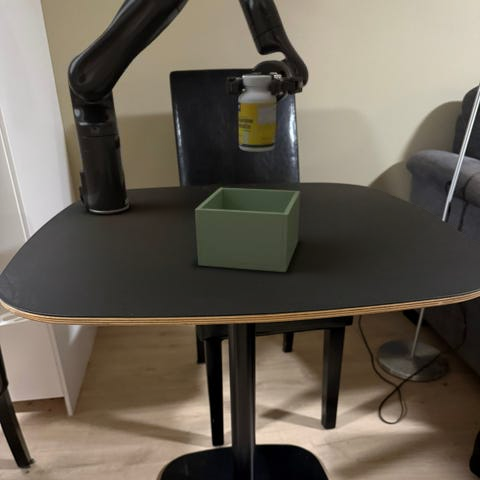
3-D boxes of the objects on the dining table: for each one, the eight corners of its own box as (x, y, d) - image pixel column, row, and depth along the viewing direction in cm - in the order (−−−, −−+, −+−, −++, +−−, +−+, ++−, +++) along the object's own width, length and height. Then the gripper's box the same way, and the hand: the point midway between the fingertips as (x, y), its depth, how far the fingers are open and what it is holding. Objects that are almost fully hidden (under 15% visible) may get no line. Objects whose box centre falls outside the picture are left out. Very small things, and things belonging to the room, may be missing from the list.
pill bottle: (237, 146, 88) (236, 75, 82) (272, 145, 88) (273, 74, 83) (240, 153, 82) (239, 77, 77) (278, 151, 83) (279, 76, 77)
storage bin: (198, 265, 84) (194, 209, 80) (221, 236, 98) (219, 187, 93) (285, 272, 81) (288, 214, 76) (297, 241, 94) (300, 190, 90)
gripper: (235, 60, 92) (211, 62, 78) (310, 59, 89) (299, 61, 75) (235, 103, 96) (212, 112, 82) (307, 103, 93) (297, 113, 79)
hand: (254, 87), depth 78 cm, fingers closed on pill bottle, 5 cm apart
